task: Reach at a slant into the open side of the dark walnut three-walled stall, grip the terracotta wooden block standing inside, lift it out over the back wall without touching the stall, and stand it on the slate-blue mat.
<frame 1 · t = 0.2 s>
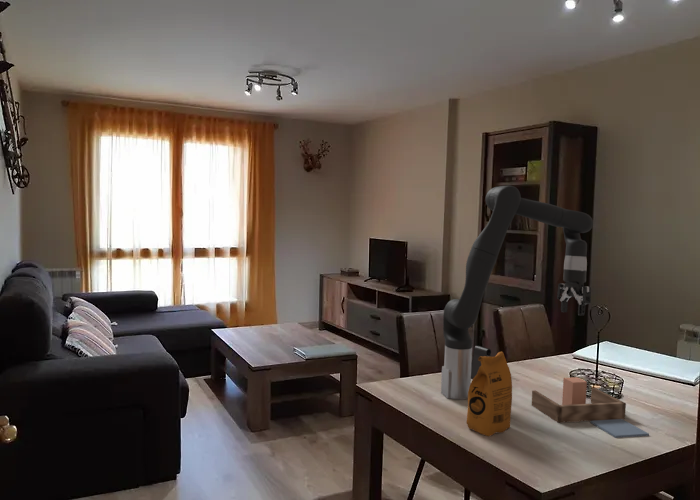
hand: (572, 313, 187), 28 cm above the table, tool pointing down, fingers open, 8 cm apart
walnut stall: (573, 409, 169), on the table
slate mat: (618, 428, 154), on the table
door stopper: (481, 378, 201), on the table
coffee package: (488, 428, 152), on the table
terracotta block: (574, 394, 169), in the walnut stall
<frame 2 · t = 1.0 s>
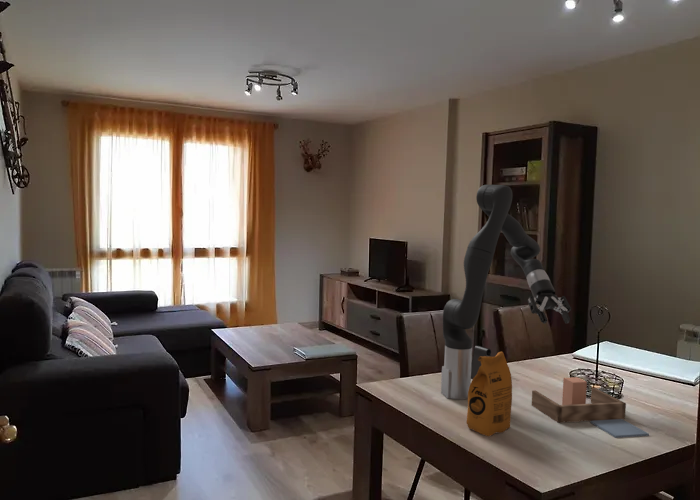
hand: (556, 322, 179), 27 cm above the table, tool tilted 45°, fingers open, 8 cm apart
nothing on the table moved.
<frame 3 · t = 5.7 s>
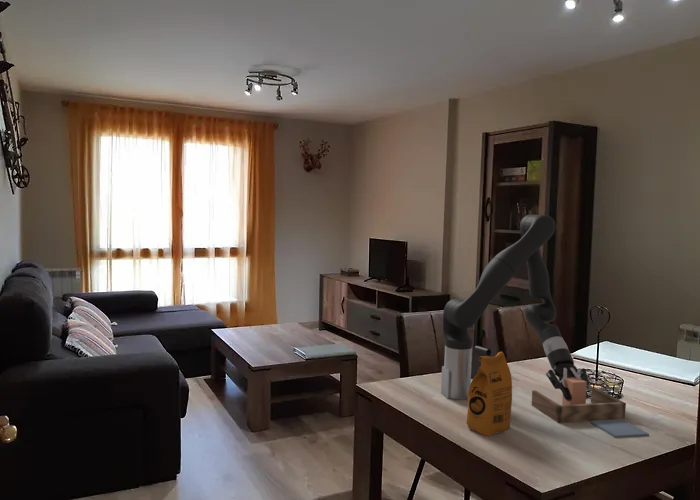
hand: (577, 399, 167), 4 cm above the table, tool tilted 45°, fingers closed on terracotta block, 5 cm apart
terracotta block: (574, 394, 169), in the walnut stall, touching gripper
everything else where it was.
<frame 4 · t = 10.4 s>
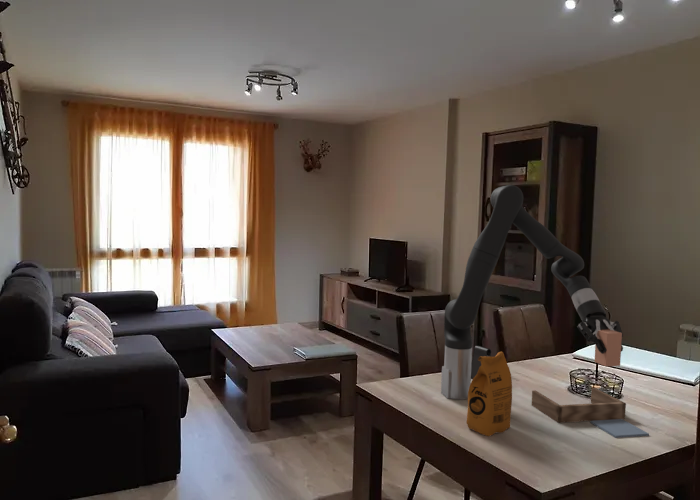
hand: (612, 351, 156), 22 cm above the table, tool tilted 45°, fingers closed on terracotta block, 5 cm apart
terracotta block: (608, 347, 158), point 23 cm above the table, touching gripper
everything else where it was.
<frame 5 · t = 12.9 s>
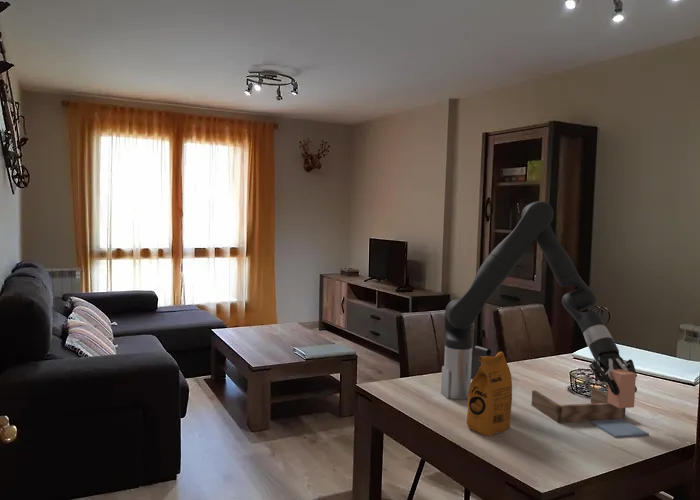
hand: (625, 393, 152), 12 cm above the table, tool tilted 45°, fingers closed on terracotta block, 5 cm apart
terracotta block: (621, 388, 153), point 12 cm above the table, touching gripper
everything else where it was.
when the fingers open (6 cm above the table, at t = 14.8 s): terracotta block drops 1 cm, resting on slate mat.
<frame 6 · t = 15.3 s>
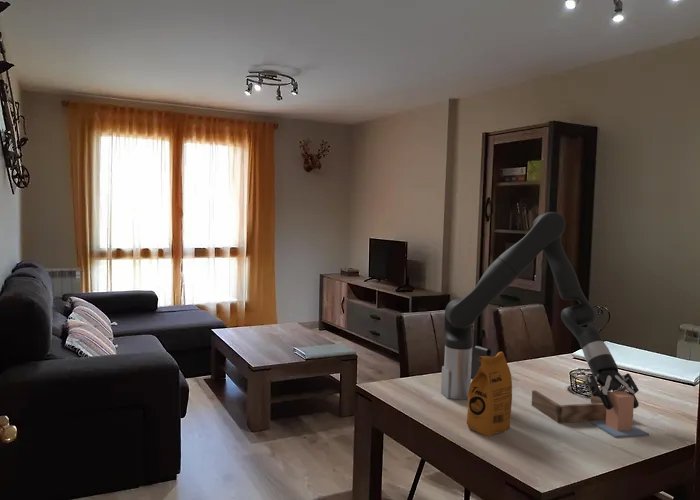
hand: (623, 408, 152), 7 cm above the table, tool tilted 45°, fingers open, 8 cm apart
terracotta block: (619, 410, 154), on the slate mat, point 6 cm above the table
everything else where it was.
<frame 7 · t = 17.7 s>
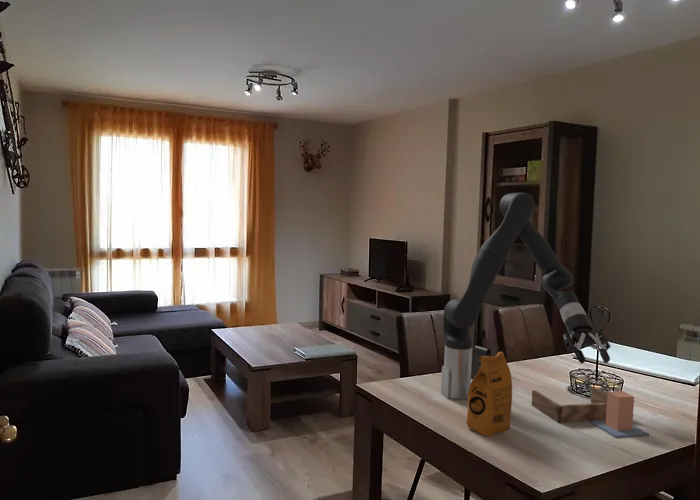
hand: (595, 362, 164), 17 cm above the table, tool tilted 45°, fingers open, 8 cm apart
nothing on the table moved.
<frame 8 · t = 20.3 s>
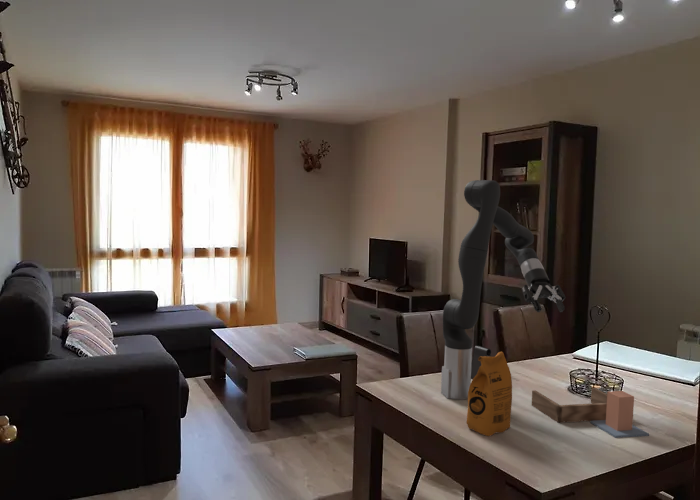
hand: (551, 310, 177), 31 cm above the table, tool tilted 45°, fingers open, 8 cm apart
nothing on the table moved.
at the end: terracotta block inside the target area on the slate mat (0.1 cm from its centre), point 5.6 cm above the slate mat's base; terracotta block tilted 0°; the gripper is holding nothing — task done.
